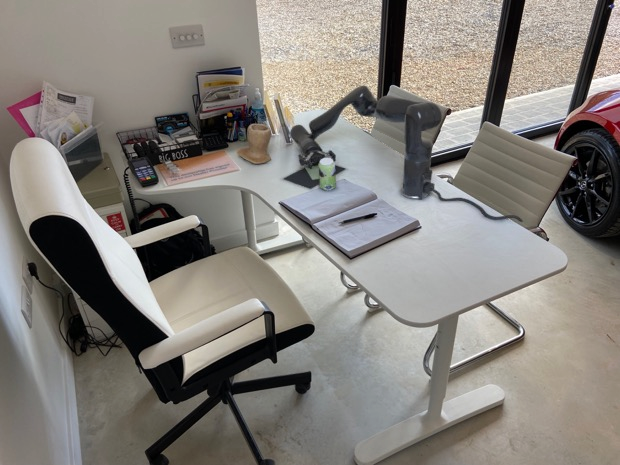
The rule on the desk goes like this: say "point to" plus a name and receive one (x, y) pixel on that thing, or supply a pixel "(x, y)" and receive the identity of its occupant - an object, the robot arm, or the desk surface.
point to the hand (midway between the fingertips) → (321, 165)
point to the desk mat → (309, 175)
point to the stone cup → (256, 144)
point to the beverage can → (327, 174)
